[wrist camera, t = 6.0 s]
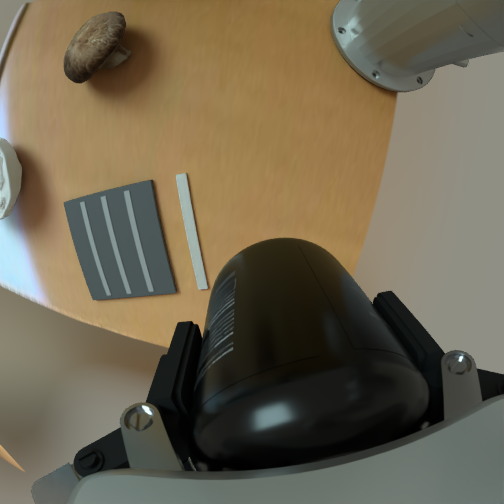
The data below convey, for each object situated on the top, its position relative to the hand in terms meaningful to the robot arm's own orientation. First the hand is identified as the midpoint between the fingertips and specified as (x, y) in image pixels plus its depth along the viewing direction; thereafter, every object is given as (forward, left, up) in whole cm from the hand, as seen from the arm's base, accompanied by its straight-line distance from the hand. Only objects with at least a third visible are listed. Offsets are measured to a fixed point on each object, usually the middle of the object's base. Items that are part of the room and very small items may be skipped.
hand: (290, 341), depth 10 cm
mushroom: (+14, -21, -18) cm, 31 cm away
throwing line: (+7, 0, -18) cm, 19 cm away
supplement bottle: (0, 0, -4) cm, 4 cm away
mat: (+16, 0, -18) cm, 23 cm away
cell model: (+31, -12, -18) cm, 37 cm away
